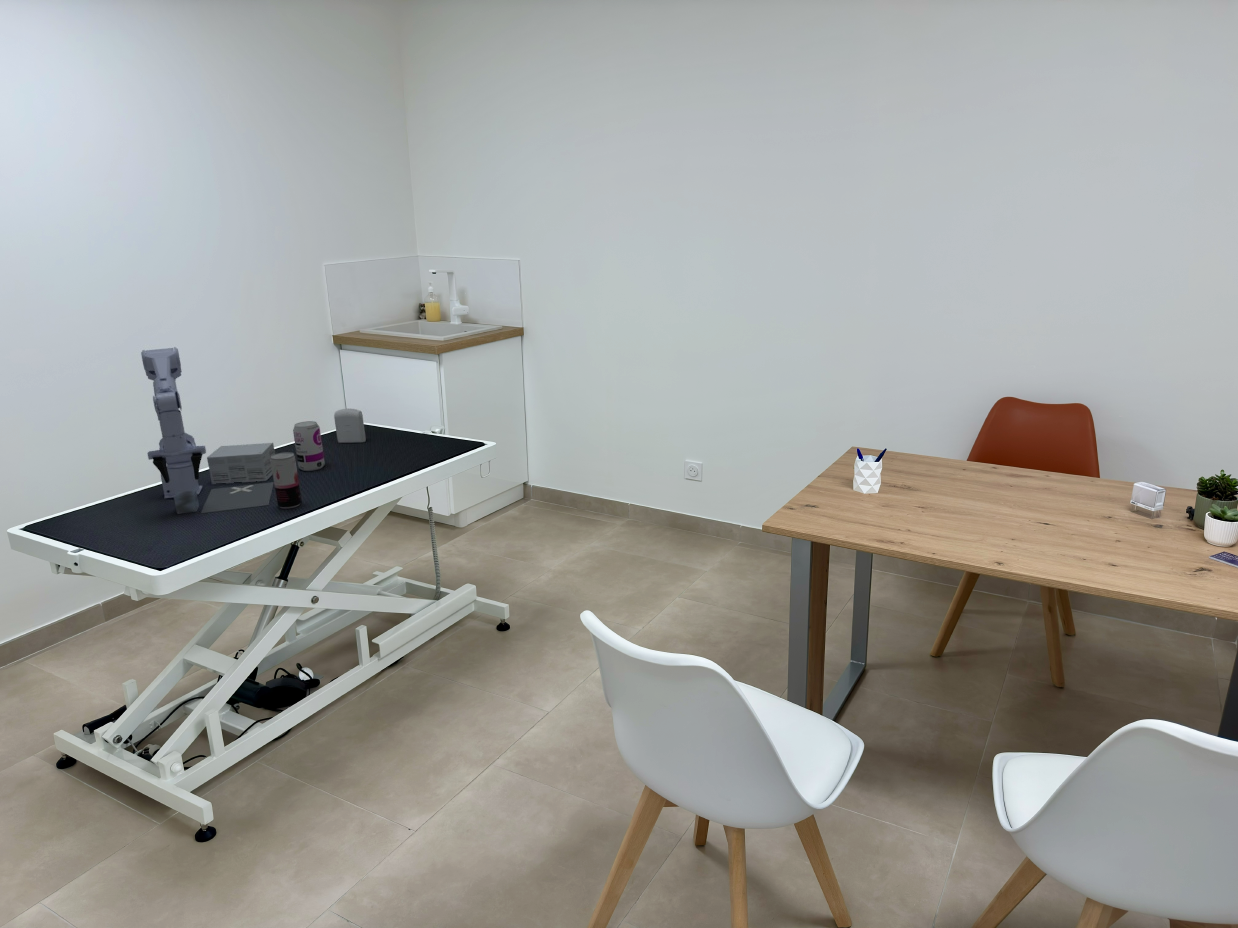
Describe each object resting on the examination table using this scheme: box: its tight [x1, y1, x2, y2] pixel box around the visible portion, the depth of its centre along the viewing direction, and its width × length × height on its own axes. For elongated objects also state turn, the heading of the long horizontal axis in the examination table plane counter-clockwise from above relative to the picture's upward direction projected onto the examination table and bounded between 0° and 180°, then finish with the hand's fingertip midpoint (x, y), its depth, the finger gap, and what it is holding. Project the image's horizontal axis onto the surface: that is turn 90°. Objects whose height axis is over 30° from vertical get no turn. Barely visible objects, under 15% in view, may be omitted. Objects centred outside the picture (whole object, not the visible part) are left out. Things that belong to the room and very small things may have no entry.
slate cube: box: [173, 490, 200, 515], centre depth 242 cm, size 5×5×5 cm
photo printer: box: [333, 408, 367, 444], centre depth 306 cm, size 10×4×12 cm, turn 85°
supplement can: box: [292, 420, 326, 472], centre depth 276 cm, size 8×8×15 cm
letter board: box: [200, 481, 275, 515], centre depth 252 cm, size 18×22×1 cm
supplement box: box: [206, 442, 276, 485], centre depth 270 cm, size 17×13×9 cm
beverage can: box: [271, 452, 303, 509], centre depth 242 cm, size 6×6×15 cm
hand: (182, 480), depth 240 cm, fingers open, 7 cm apart
